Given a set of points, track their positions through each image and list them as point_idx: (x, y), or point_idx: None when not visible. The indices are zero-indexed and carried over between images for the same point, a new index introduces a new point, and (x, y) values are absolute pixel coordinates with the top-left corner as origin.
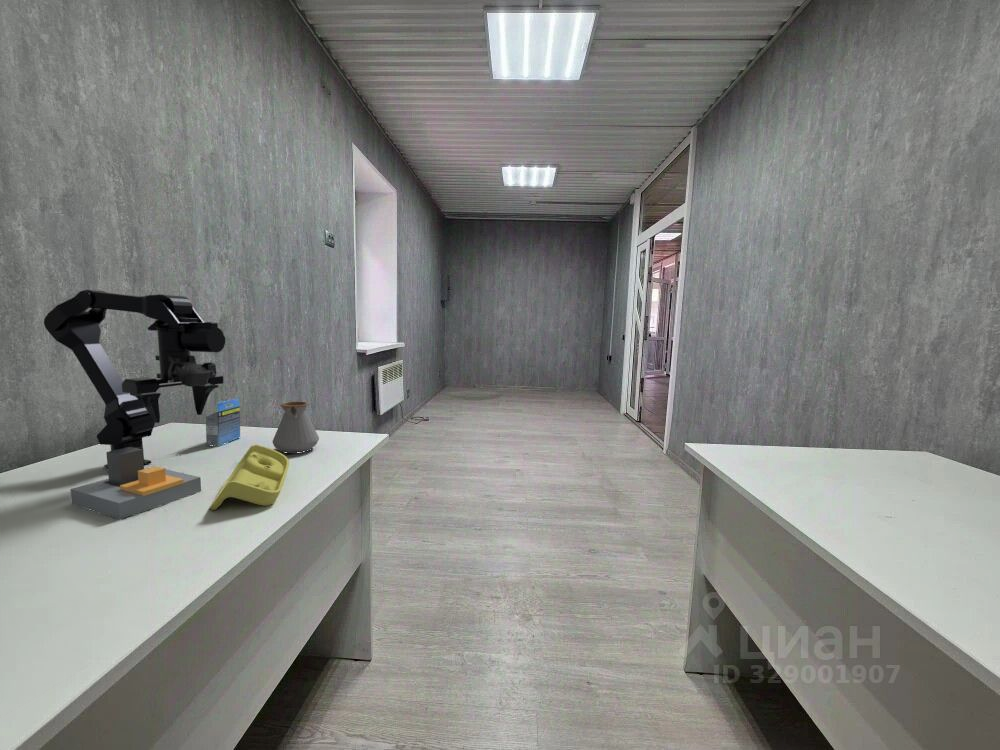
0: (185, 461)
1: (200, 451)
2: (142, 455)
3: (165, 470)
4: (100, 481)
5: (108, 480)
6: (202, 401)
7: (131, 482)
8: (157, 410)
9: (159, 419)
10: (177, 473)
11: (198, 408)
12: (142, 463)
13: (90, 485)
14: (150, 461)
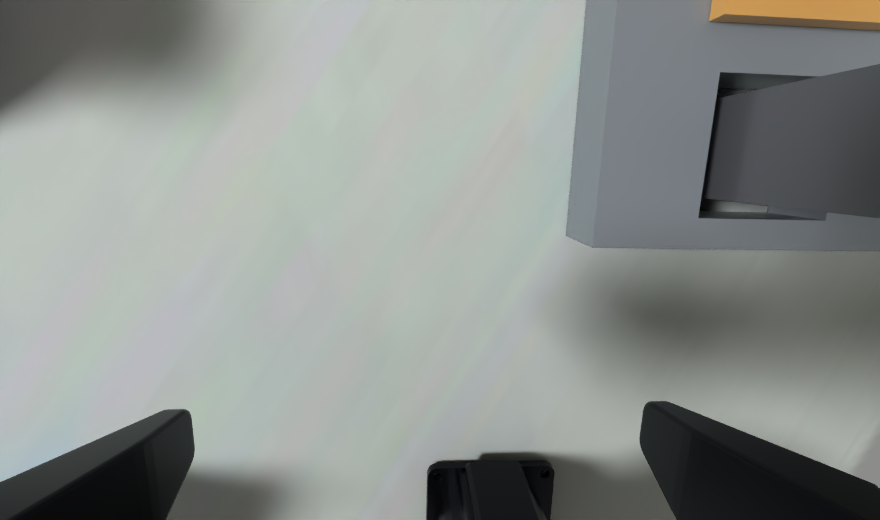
0: (338, 367)
1: (200, 458)
2: (865, 69)
3: (619, 121)
4: (818, 239)
5: (801, 221)
6: (8, 515)
7: (863, 16)
8: (801, 472)
9: (668, 414)
10: (633, 5)
11: (144, 485)
12: (815, 80)
13: (867, 221)
14: (434, 469)
